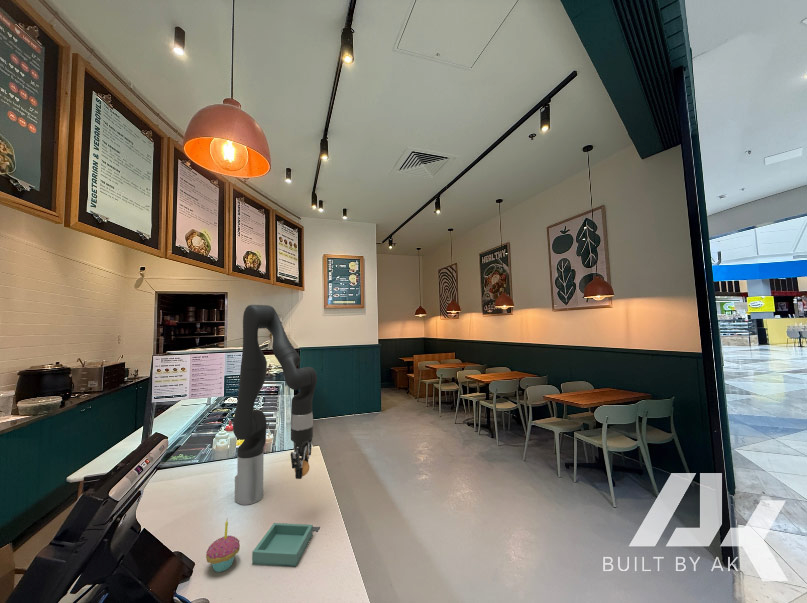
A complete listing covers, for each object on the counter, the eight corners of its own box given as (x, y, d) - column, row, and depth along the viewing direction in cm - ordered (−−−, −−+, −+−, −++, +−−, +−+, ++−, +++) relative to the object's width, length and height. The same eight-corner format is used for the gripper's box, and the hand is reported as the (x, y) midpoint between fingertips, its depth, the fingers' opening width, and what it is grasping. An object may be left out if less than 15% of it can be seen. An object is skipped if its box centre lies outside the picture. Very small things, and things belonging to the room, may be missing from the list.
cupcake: (215, 555, 97) (215, 514, 98) (244, 553, 98) (245, 512, 99) (199, 579, 89) (200, 533, 89) (232, 576, 90) (232, 531, 90)
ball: (292, 478, 112) (292, 464, 113) (297, 471, 117) (298, 457, 118) (306, 479, 112) (306, 464, 112) (311, 472, 117) (311, 458, 117)
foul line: (274, 529, 109) (274, 528, 109) (276, 525, 111) (276, 524, 111) (318, 531, 108) (317, 530, 108) (320, 527, 110) (320, 526, 110)
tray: (252, 564, 94) (252, 551, 94) (274, 533, 107) (274, 522, 107) (296, 567, 93) (296, 554, 93) (312, 535, 106) (312, 524, 106)
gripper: (299, 418, 123) (299, 464, 122) (282, 432, 108) (282, 484, 108) (319, 418, 122) (319, 465, 122) (304, 432, 108) (304, 485, 107)
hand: (302, 474), depth 115 cm, fingers closed on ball, 5 cm apart
